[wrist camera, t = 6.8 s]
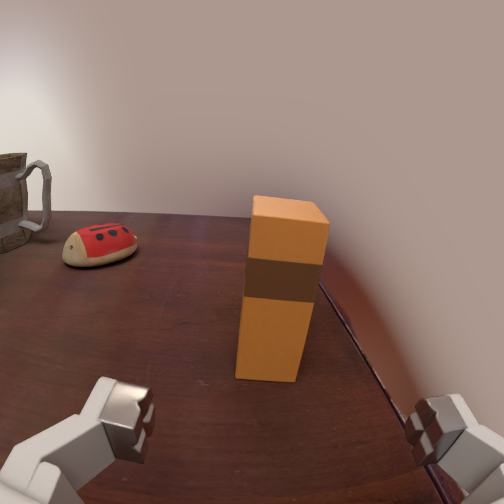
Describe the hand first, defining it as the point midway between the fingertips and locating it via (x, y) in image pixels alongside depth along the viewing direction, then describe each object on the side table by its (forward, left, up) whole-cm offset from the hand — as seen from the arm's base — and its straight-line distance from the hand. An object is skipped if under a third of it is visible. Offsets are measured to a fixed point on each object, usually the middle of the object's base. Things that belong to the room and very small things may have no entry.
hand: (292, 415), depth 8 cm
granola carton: (+12, 0, -8) cm, 14 cm away
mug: (+27, +35, -8) cm, 45 cm away
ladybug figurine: (+26, +19, -8) cm, 33 cm away
